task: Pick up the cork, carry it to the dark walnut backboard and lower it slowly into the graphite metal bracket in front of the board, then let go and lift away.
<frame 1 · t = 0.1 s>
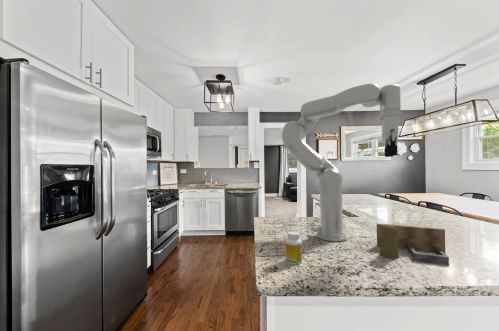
hand: (390, 156, 99), 37 cm above the counter, tool pointing down, fingers open, 9 cm apart
supplement bottle: (293, 262, 80), on the counter
cork: (388, 256, 85), on the counter
cleat board: (426, 256, 84), on the counter
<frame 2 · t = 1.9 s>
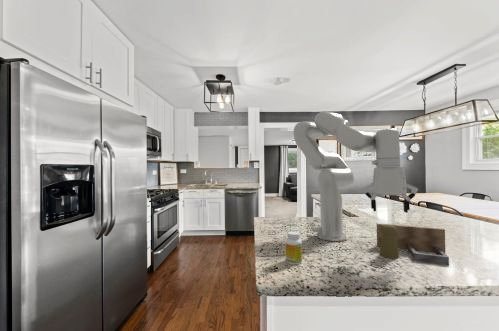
hand: (389, 211, 85), 16 cm above the counter, tool pointing down, fingers open, 9 cm apart
nothing on the counter moved.
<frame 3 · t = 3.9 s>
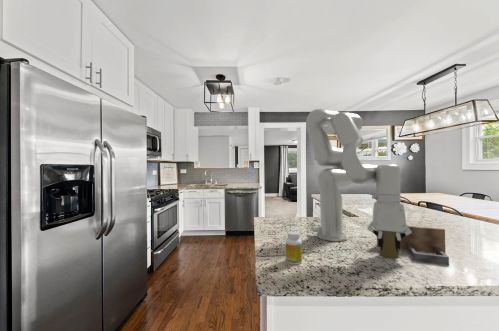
hand: (389, 249, 85), 2 cm above the counter, tool pointing down, fingers closed on cork, 3 cm apart
cork: (388, 256, 85), on the counter, touching gripper
everything else where it was.
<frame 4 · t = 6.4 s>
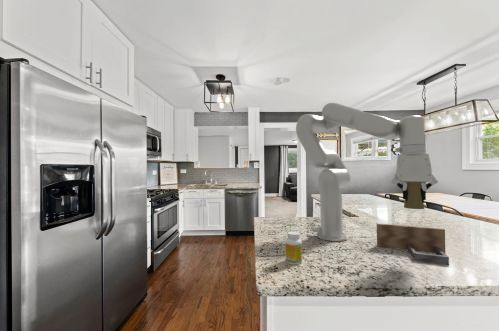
hand: (414, 201, 85), 20 cm above the counter, tool pointing down, fingers closed on cork, 3 cm apart
cork: (414, 208, 84), point 17 cm above the counter, touching gripper
everything else where it was.
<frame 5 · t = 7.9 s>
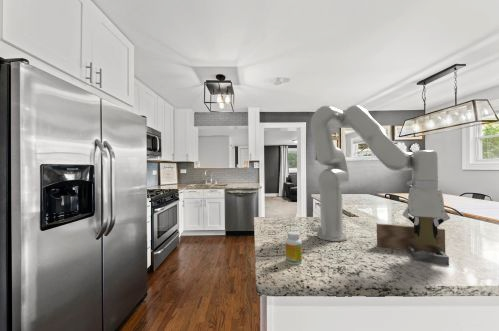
hand: (425, 235, 84), 7 cm above the counter, tool pointing down, fingers closed on cork, 3 cm apart
cork: (425, 243, 84), point 5 cm above the counter, touching gripper
everything else where it was.
when the fingers open (4 cm above the counter, at t = 9.0 s): cork drops 1 cm, resting in cleat board.
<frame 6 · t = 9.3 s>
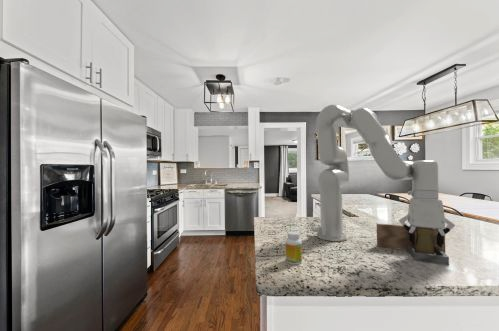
hand: (425, 244, 84), 4 cm above the counter, tool pointing down, fingers open, 7 cm apart
cork: (424, 256, 85), resting in cleat board
everything else where it was.
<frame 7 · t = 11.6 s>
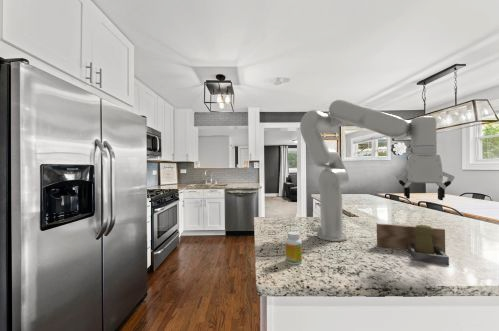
hand: (423, 199, 85), 20 cm above the counter, tool pointing down, fingers open, 9 cm apart
nothing on the counter moved.
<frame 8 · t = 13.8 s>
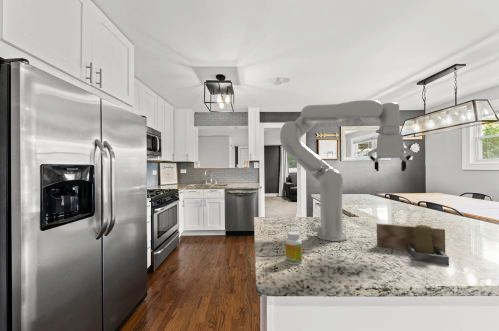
hand: (389, 171, 103), 30 cm above the counter, tool pointing down, fingers open, 9 cm apart
nothing on the counter moved.
at the end: cork inside the target area (0.5 cm from its centre), resting in cleat board; cork tilted 0°; the gripper is holding nothing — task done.
